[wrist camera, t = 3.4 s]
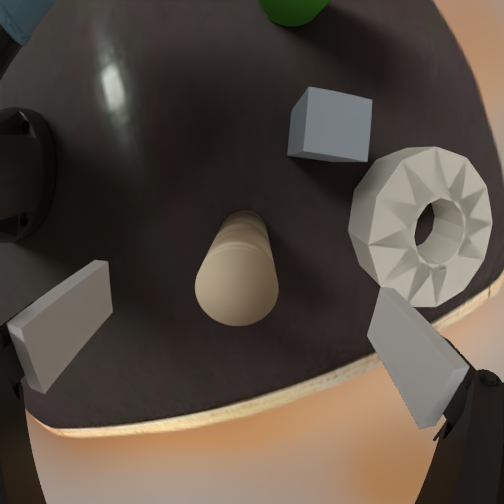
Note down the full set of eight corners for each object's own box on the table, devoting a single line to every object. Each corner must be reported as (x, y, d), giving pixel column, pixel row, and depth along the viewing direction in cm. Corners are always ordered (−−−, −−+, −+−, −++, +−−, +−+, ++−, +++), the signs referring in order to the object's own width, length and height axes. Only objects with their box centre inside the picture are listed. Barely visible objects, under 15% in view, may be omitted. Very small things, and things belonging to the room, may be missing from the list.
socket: (338, 281, 27) (354, 305, 22) (359, 136, 23) (383, 131, 18) (444, 287, 27) (469, 306, 22) (468, 167, 23) (499, 171, 18)
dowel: (219, 252, 26) (194, 321, 14) (222, 208, 25) (196, 245, 13) (264, 256, 26) (272, 328, 14) (269, 212, 25) (283, 253, 13)
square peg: (287, 155, 23) (303, 150, 16) (291, 110, 22) (308, 86, 15) (332, 162, 23) (367, 161, 16) (336, 118, 22) (372, 100, 15)
